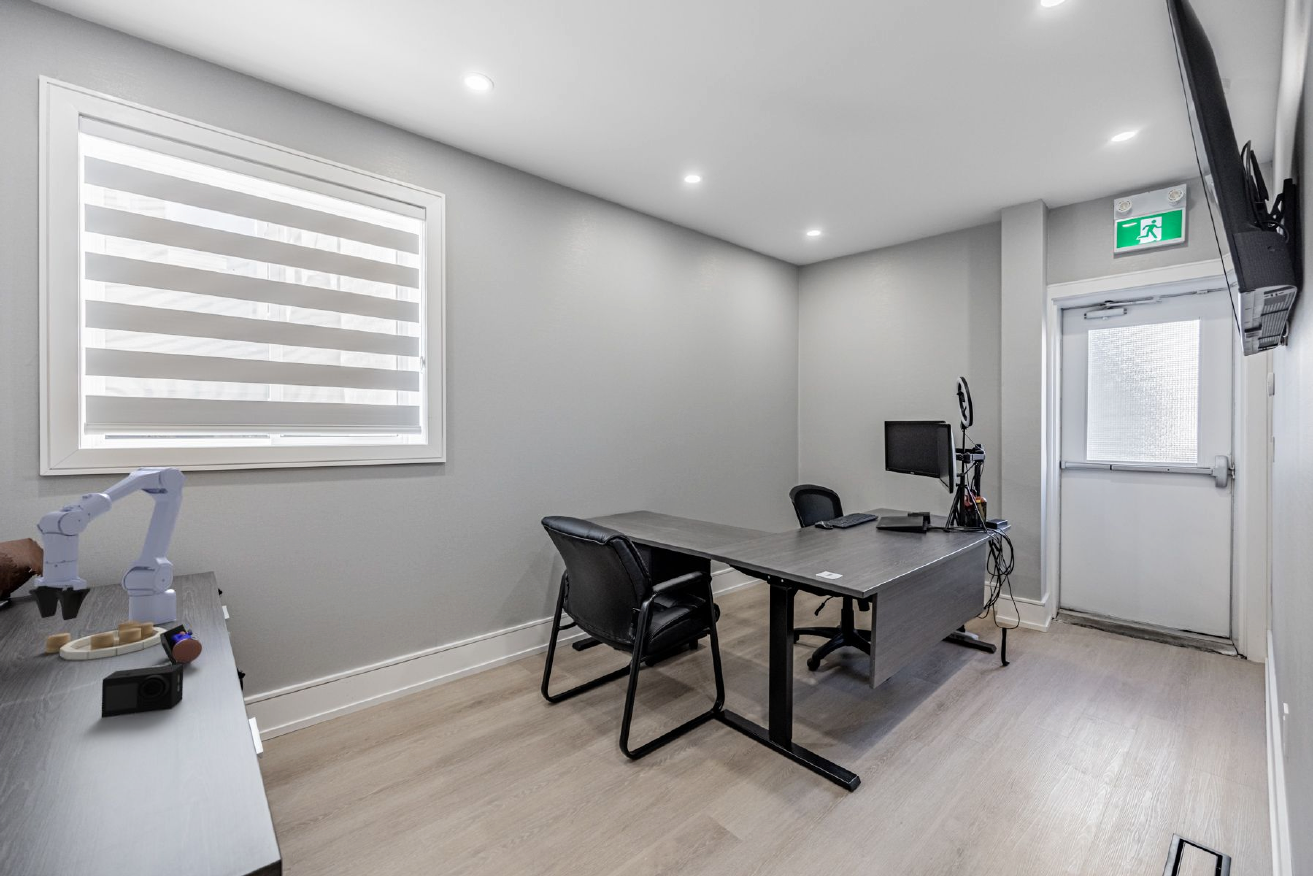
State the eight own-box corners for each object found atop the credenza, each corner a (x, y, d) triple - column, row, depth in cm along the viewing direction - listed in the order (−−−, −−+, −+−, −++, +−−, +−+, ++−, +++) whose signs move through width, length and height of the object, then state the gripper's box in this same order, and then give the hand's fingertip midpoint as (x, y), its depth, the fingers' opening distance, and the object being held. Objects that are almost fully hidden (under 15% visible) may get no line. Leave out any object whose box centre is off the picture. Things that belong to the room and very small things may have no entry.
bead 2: (140, 638, 138) (141, 622, 138) (119, 642, 135) (120, 626, 135) (136, 635, 140) (137, 619, 140) (116, 639, 137) (116, 623, 137)
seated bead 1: (109, 648, 131) (110, 631, 131) (115, 651, 129) (116, 634, 129) (87, 653, 128) (88, 636, 128) (93, 656, 126) (94, 638, 126)
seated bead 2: (137, 643, 134) (137, 627, 135) (143, 646, 133) (143, 629, 133) (116, 648, 131) (116, 631, 131) (122, 650, 129) (122, 634, 129)
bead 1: (66, 648, 133) (67, 632, 133) (71, 651, 131) (72, 634, 131) (43, 653, 129) (44, 636, 129) (48, 656, 127) (49, 639, 128)
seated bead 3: (149, 637, 139) (149, 621, 139) (155, 639, 137) (155, 623, 137) (129, 641, 136) (129, 625, 136) (135, 644, 134) (135, 628, 134)
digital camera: (95, 721, 96) (96, 681, 97) (114, 708, 102) (115, 670, 102) (167, 712, 100) (169, 673, 100) (182, 699, 105) (183, 663, 105)
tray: (148, 631, 145) (149, 623, 145) (177, 643, 136) (177, 634, 137) (50, 652, 130) (50, 643, 130) (76, 667, 121) (76, 657, 121)
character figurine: (196, 651, 132) (200, 670, 121) (155, 656, 127) (156, 676, 116) (200, 618, 132) (205, 634, 121) (160, 622, 127) (161, 639, 116)
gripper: (17, 562, 129) (15, 620, 128) (59, 565, 125) (57, 625, 125) (57, 557, 136) (55, 612, 135) (98, 560, 132) (96, 616, 131)
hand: (59, 617), depth 130 cm, fingers open, 7 cm apart
